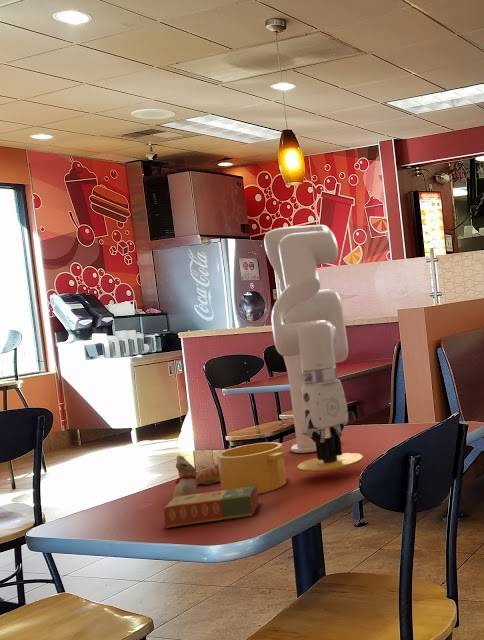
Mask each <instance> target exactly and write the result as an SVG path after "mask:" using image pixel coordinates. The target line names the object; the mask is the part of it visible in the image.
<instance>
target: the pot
mask: <svg viewBox="0 0 484 640" xmlns="http://www.w3.org/2000/svg"><path fill="white" fill-rule="evenodd" d="M216 457H217V464H218V467H219V475H220V482H219V483H220V491H222V490H230V489H237V488H244V487H251V486H256V487H257V492H258V495H261V494H264V493H265V494H266V493H268V492H271V491H274V490H277V489H279V488H282V487H283V486H284V485H285V484H286V483H287V476H286V466H285V453H284V451H283V444H282V443H280V442H272V441H269V442H257V443H250V444H244V445H239V446H235V447H232V448H227V449H225V450H223V451H220V452H218V454H217V455H216Z"/></svg>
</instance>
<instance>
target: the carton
mask: <svg viewBox="0 0 484 640" xmlns="http://www.w3.org/2000/svg"><path fill="white" fill-rule="evenodd" d="M259 503H260V502H259V494H258V492H257V487H256V486H251V487H244V488H237V489H230V490H222V491H221V490H217V491H216V490H215V491H208V492H202V493H201V492H200V493H197V494H193V495H186V496H179V497H175V498H173V497H172V499H171V500H170V501H169V502H168V503H167V504H166V505H165V507H163V515H164V524H165V528H166V529H167V528H175V527H180V526H181V527H182V526H186V525H194V524H201V523H210V522H211V523H212V522H219V521H227V520H234V519H241V518H250V517H252V516H254V514H255V511H256V510H257V508H258V506H259Z"/></svg>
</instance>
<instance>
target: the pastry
mask: <svg viewBox="0 0 484 640" xmlns="http://www.w3.org/2000/svg"><path fill="white" fill-rule="evenodd" d="M196 482H197V484H201V485H211V484H216V483H220V475H219V467H218V463H217V464H215V465H213V466H210V467H209V468H207V469H205V470H203V471H202V472H200V473H198V474H196Z"/></svg>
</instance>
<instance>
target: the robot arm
mask: <svg viewBox="0 0 484 640" xmlns="http://www.w3.org/2000/svg"><path fill="white" fill-rule="evenodd" d="M263 244H264V249H265V253H266V257H267V258H268V260H269V263H270V265H271V267H272V269H273V271H274V272H275V275H276V277H277V281H278V285H279V286H278V287H279V295H278V297H277V299H276V300H275V302H274V304H273V306H272V310H271V316H270V317H271V328H272V337H273V343H274V347H275V350H276V351H277V353H278V354H279V355H280V356H282V358H283V361H284V364H285V367H286V373H287V377H288V384H289V391H290V398H291V407H292V415H293V425H294V431H295V440H296V441H295V442H296V443H295V444H293V445H292V446H291V447H290V448H291V452H292V453H295V454H308V453H315V452H316V458H318V460H328V459H329V450H328V443H327V442H325V436H329V435H334V436H335V443H336V451H337V455H342V453H343V451H342V443H341V442H342V441H341V437H342V436H343V433H344V432H345V429H344V428H345V426H347V424H348V423H349V411H348V404H347V399H346V394H345V390H344V387H343V384H342V381H341V380H340V379H338V373H337V371H338V370H337V364H339V363H342V362H344V361H346V360H347V359H348V356H349V343H348V335H347V328H346V322H345V315H344V308H343V302H342V299H341V296H340V295H339V293H338V291H336V290H334V289H329V288H328V289H321V280H320V276H319V275H320V274H319V270H318V265H324V264H325V265H327V264H332V263H335V262H336V261H337V260H338V256H339V245H338V242H337V239H336V236H335V234H334V232H333V230H331V228H330V227H328V226H327V225H325V224H312V225H298V226H286V227H284V226H283V227H278V228H274V229H271V230H269V231H267V232H266V233H265V235H264V238H263Z"/></svg>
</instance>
